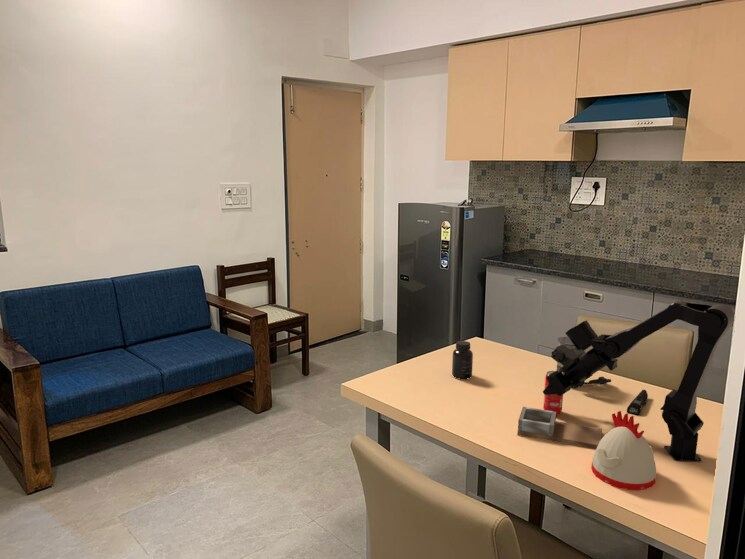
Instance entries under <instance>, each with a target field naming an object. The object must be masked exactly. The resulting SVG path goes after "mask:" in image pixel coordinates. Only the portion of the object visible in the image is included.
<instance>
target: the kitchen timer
mask: <svg viewBox="0 0 745 559" xmlns="http://www.w3.org/2000/svg"><path fill="white" fill-rule="evenodd" d="M611 417H612V421H613V424H614V428H612V429H610V430H609V431H608V432H606V433H605V435H604V436H602V439H601V441H600V442H599V444H598V446H597V448H596V449H595V451H594V454H593V457H592V460H591V471H592V473H593V474H594V476H595V477H596V478H597V479H599V480H600V481H601V482H604V483H605V484H607V485H609V486H611V487H615V488H618V489H621V490H622V489H623V490H627V491H643V490H644V491H645V490H649V489H650V488H652V487H653V486H654V485H655V484H656V478H657V465H656V460H655V457H654V453H653V447H652V446H651V445H649V443H648V441H647V439H646V438H645V436H644V435H643V434H644V433H645V430H641V431H638V429H639V427H640V422H637V423H636V424H635V420H634V418H635V415H632V416H629V414H628V413H627V412H626V413H625V414H624V415H623V416H622V411H621V410H619V411H617V414H616V413H611Z"/></svg>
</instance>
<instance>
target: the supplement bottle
mask: <svg viewBox="0 0 745 559" xmlns="http://www.w3.org/2000/svg"><path fill="white" fill-rule="evenodd" d="M451 359H452V362H451V363H452V365H451V376H452V375H453V376H454V377H456V378H460V379H459V380H461V379H465V380H468V379H467V378H469V379H471V378H472V376H473V360H474V352H473V351H472V350H471V342H470V341H466V340H458V341H456V342H455V349H454V350H453V352H452V358H451ZM453 376H452V377H453ZM454 377H453V378H454ZM470 377H471V378H470ZM456 378H455V379H456Z"/></svg>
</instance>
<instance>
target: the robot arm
mask: <svg viewBox="0 0 745 559" xmlns="http://www.w3.org/2000/svg"><path fill="white" fill-rule="evenodd" d="M734 314H735V312H734V310H733V309H732V308H731V307H730V306H728V305H726V304H723V303H722V304H721V303H720V304H719V303H718V304H714V305H711V304H708V303H707V304H706V303H695V302H689V301H684V300H676V301H674V302H672V303H671V304H669V305H668V306H666V307H665V308H664V309H663V310H660V311H659V312H657V313H655V314H654V315H652V316H650V317H649V318H647V319H645V320H644V321H642V322H640V323H639V324H637V325H635V326H633V327H629V328H627V329H624V330H621V331H618V332H615V333H614V334H600V335H598V334H597V333H596V331H595V330H594V328H592V326H591V325H590V323H589V321H588V320H583V321H582V322H580V323H579V324H577V325H575V326H573V327H571V328H570V329H568V330H567V331H566V332H565V336H566V337H568V338H569V339H570V340H571V342H572V343H573V344H574V346H575V347H576V348H577V350H579V351H580V350H581V349H582V350H583V351H585V350H588V349H589V348H591V347H592V348H591V349H590V350H588V351H585V354H583V355H580V356H579V357H578V356H577V355H576V354H575V353H574V352H573V351H571V350H570V349H569V348H567V347H566V346H564V345H560V346H558V345H557V346H556V347H555V348H554V350H553V351H552V352H550V353H551V356H550V357H551V359H553V360H554V361H555V362H556V363H557V362H558V363H561V364H562V365H564V366H563V367H562V369H563V370H564V371H565V372H564V375H563V374H562V373H561V372H560V371H557V370H554V371H555V372H553V373H551V374H550V375H548V376H547V377H546V376H545V377H546V379H547V381H548V382H549V385H548V386H547V387H546V388H545V387H544V389H543V390H542V393H543V396H544V395H550V394H557V395H559V396H561V395H563V396H564V395H565V394H566V393H567V392H570V390H571V385H577V384H580V383H581V382H583V381H585V382H586V380H587V381H588V379H589V378H591V377H592V376H593V375H594V374H596V373H597V372H600V370H602V369H603V368H605V367H607V368H608V370H609V371H610V372H611V371H614V370H615V369H616V368H618V361H619V360H618V359H619V358H621V357H622V356H624V355H625V354H627V353H628V352H630V351H631V350H632V349H633V348H634V347H635V346H637V345H638V344H639V343H640V342H641V341H642V340H643V339H644V338H646V337H648V336H650V335H652V334H654V333H655V332H657V331H659V330H661V329H663V328H665V327H666V326H668V325H670V324H671V323H673V322H675V321H677V320H679V321H683V322H685V323H687V324H689V325H693V326H695V327H698V329H697V342H696V344H695V347H694V349H693V351H692V354H691V356H690V360H689V361H688V363H687V366H686V369H685V372H684V373H683V374H684V375H683V376H682V379H681V382H680V384H679V385H678V386H679V387H678V388H677V390H676V389H675V388H673V389H672V390H671V391H669V393H667V394H666V395H665V398H664V403H663V405H662V407H660V411H662V412H661V418H662V419H663V421H664V423H665V424H666V425H667V429H668V433H669V435H670V436H671V438H670V445H664V446H663V449H664V450H665V451H666V452H667V453H668V454H669V455H670V456H671V458H672V459H673V460H674V461H684V462H686V461H687V462H702V458H701V457H700V455H698V453H697V448H698V441H699V440H698V439H699V433H698V432H699V431H700V430H701V429H702V428H703V426H704V424H705V423H704V421H703V419H701V417H700V416H699V415H698V414H697V413H696V409H697V404H698V403H697V402H698V401H697V400H698V397H697V396H698V392H699V390H700V387H701V385H702V382H703V379H704V377H705V375H706V372H707V371H708V370H707V369H708V368H709V365H710V364H711V360H712V358H713V356H714V353H715V351H716V348H717V346H718V344H719V343H720V342H721V340H722V339H723V338H724V336H725V335H726V334H727V333H728V331H729V329H730V328H731V327H732V325H733V323H734V322H735V320H734ZM733 321H734V322H733Z"/></svg>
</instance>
